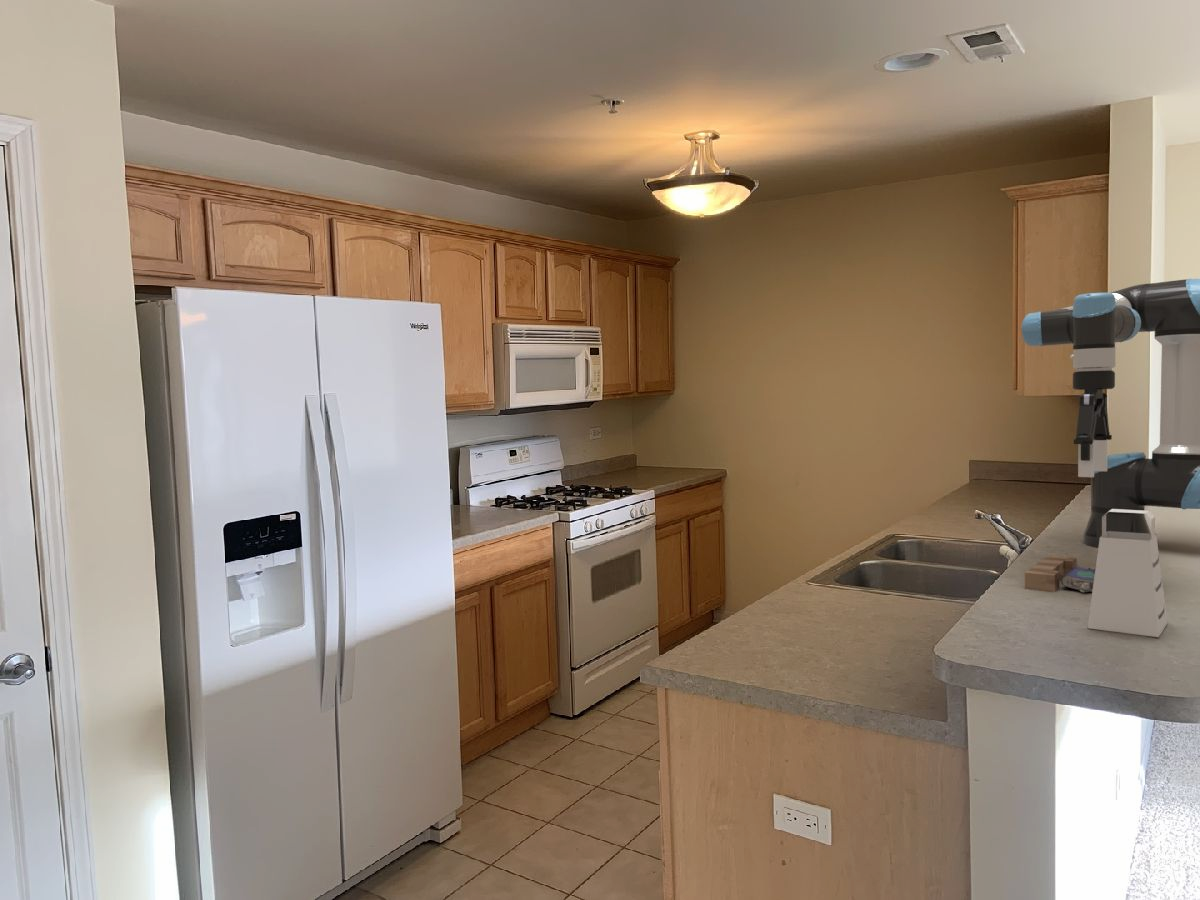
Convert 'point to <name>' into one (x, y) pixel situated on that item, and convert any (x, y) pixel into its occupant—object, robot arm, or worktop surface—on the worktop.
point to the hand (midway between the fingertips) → (1093, 474)
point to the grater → (1128, 583)
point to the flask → (1079, 579)
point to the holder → (1049, 573)
